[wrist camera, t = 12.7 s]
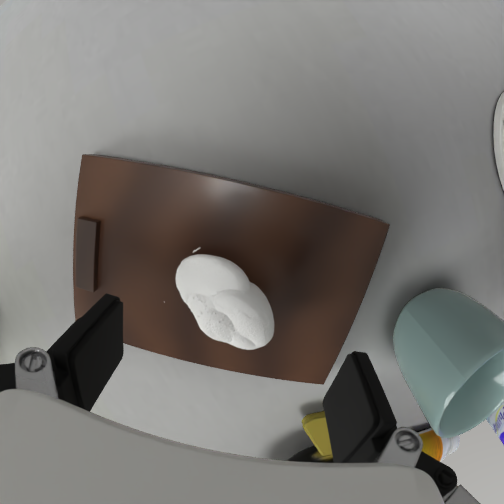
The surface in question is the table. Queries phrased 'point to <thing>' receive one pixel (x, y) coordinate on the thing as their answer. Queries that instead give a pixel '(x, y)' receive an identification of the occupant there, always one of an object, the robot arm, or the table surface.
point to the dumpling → (225, 301)
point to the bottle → (498, 422)
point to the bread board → (226, 246)
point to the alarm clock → (316, 440)
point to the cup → (451, 359)
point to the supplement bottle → (438, 444)
